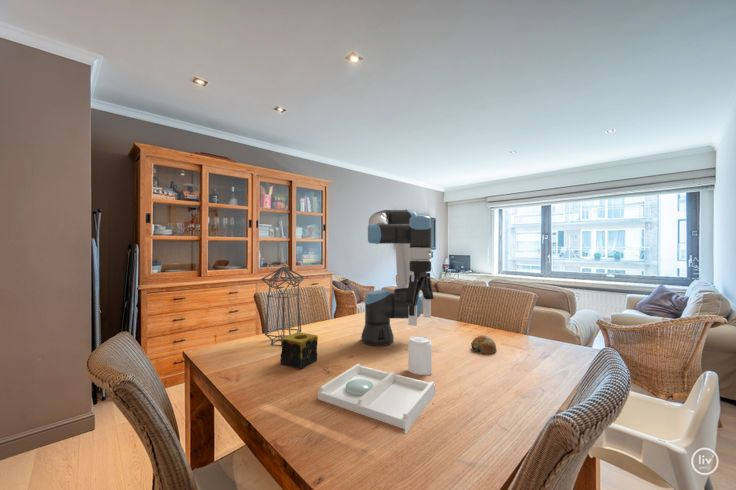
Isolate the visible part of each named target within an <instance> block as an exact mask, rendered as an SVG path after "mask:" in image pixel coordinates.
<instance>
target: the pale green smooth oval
mask: <svg viewBox="0 0 736 490" xmlns="http://www.w3.org/2000/svg"><path fill="white" fill-rule="evenodd" d="M371 388H373V383H372V382H371V381H368V380H365V379H355V380H351V381H349V382H348V383H347V384H346V392H347V393H348V394H350V395H353V396H363V395H364V394H365V393H366V392H368V391H369V390H370V389H371Z"/></svg>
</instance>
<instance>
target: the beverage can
mask: <svg viewBox="0 0 736 490" xmlns="http://www.w3.org/2000/svg"><path fill="white" fill-rule="evenodd" d="M407 343H408V345H407V346H408V347H407V348H408V349H407V350H408V352H407V354H408V360H407V361H408V363H407V365H408V366H407V367H408V370H407V371H408V372H409V373H410V374H411V373H412V374H413V375H414V374H415V375H418V376H419V375H421V376H423V375H424V376H430V375H432V372H433V344H432V341H431V338H430V337H427V336H424V335H423V336H422V335H415V336H410V338H409V340H408V342H407Z"/></svg>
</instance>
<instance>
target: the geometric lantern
mask: <svg viewBox="0 0 736 490" xmlns="http://www.w3.org/2000/svg"><path fill="white" fill-rule="evenodd" d="M283 273H284V276H283ZM295 275H296V276H297V277H296V276H295ZM269 276H271V277H270V278H268V277H269ZM298 276H299V277H298ZM279 278H281V279H282V280H281V279H279ZM305 279H306V277H305V276H303V275H301V274H300V273H298V272H296V271H294V270H292V268H291V269H290V268H288V267H287V266H281V267H280V268H278V269H276V270H274V271H273V272H271V273H269V274H267V275H266V276H264V277H262V278H261V279H260V280H261V281H263V283H265V284H267V285H268V294H267V296H266V297H267V305H266V315H265V326H264V336H266V337H267V338H268V339H269V340H271V343H270V345H271V346H280V347H282V346H281V344H276V343H277V342H281V340H280V339H281V338H283V337H286V336H289V335H292V334H291V331H296V333H297V332H301V333H302V326H301V325H302V322H301V313H300V310H301V309H300V297H299V295H300V288H299V287H300V284H301V283H302V281H304V280H305ZM278 282H281V283H279V284H278ZM284 283H287V286H286V288H285V289H284V291H283V292H282V290H281V288H280V286H282V284H284ZM290 285H291V288H290V289H289V292H288V293H286V292H287V289H288V287H290ZM296 287H297V290H296ZM272 288H273V289H275V291H276V292H277V293H275V294H271V290H272ZM293 288H294V291H295V293H293V295H290V294H291V291H292V289H293ZM278 290H279V291H278ZM277 295H278V296H277ZM281 295H282V296H281ZM285 295H286V296H285ZM289 295H290V296H289ZM274 296H275V298H276V299H278V301H277V317H276V319H277V320H276V328H275V329H273V330H271V331H268V329H269V325H268V324H269V305H270V303H269V302H270V298H274ZM294 297H296V298H297V328H291V322H290V321H291V320H290V319H291V317H290V316H291V315H290V298H294ZM281 299H282V302H281V303H282V304H281V305H282V307H281V308H282V311H281V312H282V315H281V316H282V318H281V321H282V322H281V325H282V326H281V327H282V328H279V315H280V300H281ZM285 299H287V314H288V315H287V316H288V317H287V318H288V320H287V321H288V328H286V327H285V319H286V317H285V307H286V306H285ZM280 330H281V334H280V332H279V331H280ZM285 330H286V331H288V333H289V334H287V335H286V334H285ZM276 331H277V333H278V335H272V334H271V333H273V332H276ZM273 337H274V338H273ZM277 338H278V339H277Z"/></svg>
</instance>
